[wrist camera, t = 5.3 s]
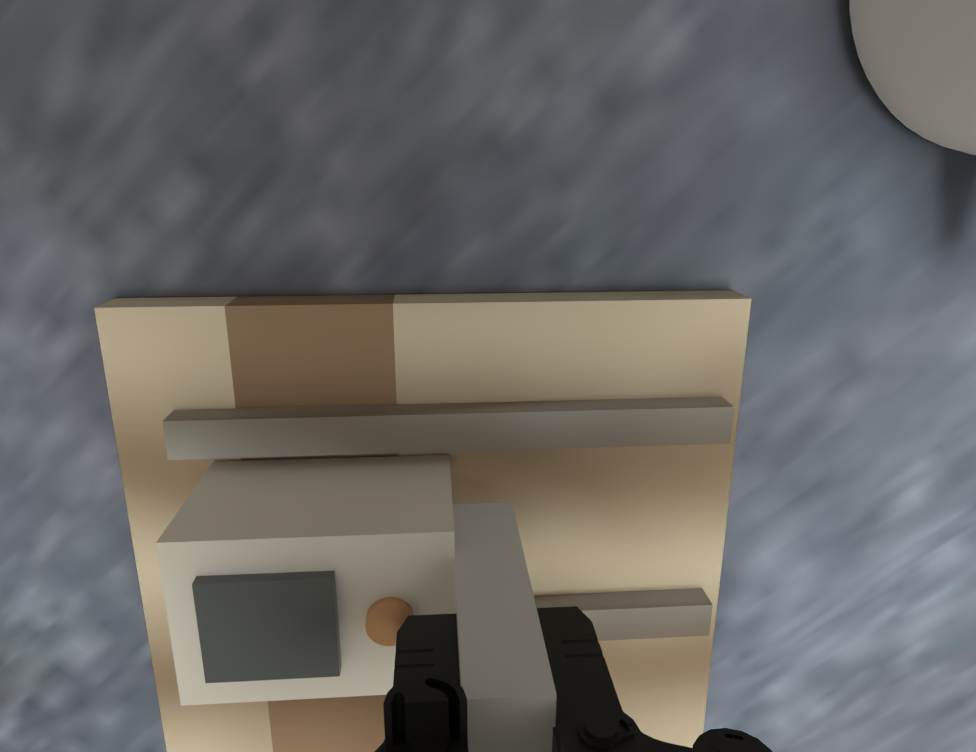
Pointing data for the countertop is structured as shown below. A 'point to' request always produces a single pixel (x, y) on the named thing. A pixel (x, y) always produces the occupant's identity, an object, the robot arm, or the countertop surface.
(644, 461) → the subfloor panel
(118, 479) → the countertop surface
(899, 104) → the mug
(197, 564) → the block
